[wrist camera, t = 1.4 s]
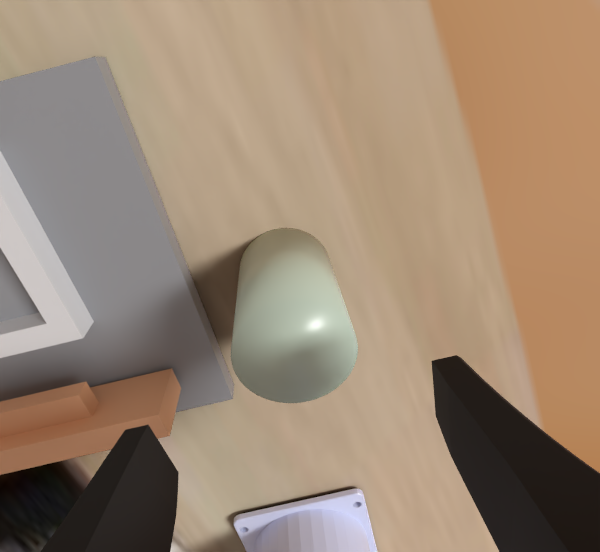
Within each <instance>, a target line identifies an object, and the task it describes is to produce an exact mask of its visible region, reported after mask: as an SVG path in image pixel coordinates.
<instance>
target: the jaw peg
mask: <svg viewBox="0 0 600 552" xmlns="http://www.w3.org/2000/svg"><path fill="white" fill-rule="evenodd" d="M357 353H358V345H357V339H356V335H355V332H354V329H353V326H352V323H351V321H350V318H349V315H348V312H347V309H346V306H345V303H344V300H343V297H342V294H341V291H340V288H339V285H338V282H337V279H336V277H335V274H334V271H333V268H332V265H331V262H330V259H329V256H328V254H327V251H326V250H325V248H324V246H323V245H322V244H321V243H320V242H319V241H318V240H317V239H316V238H315V237H313V236H312V235H310V234H308V233H306V232H304V231H301V230H298V229H293V228H280V229H274V230H271V231H268V232H266V233H263V234H262V235H260V236H258V237H257V238H256V239H254V240H253V241H252V242H251V243H250V244H249V246H248V247H247V248H246V250H245V252H244V254H243V256H242V259H241V262H240V269H239V279H238V289H237V298H236V308H235V317H234V327H233V337H232V346H231V361H232V365H233V369H234V371H235V373H236V375H237V377H238V378H239V380H240V381H241V382H242V383H243V384H244V386H245V387H247V388H248V389H249V390H250V391H252V392H253V393H255V394H256V395H258V396H261V397H263V398H265V399H268V400H271V401H276V402H282V403H300V402H306V401H310V400H314V399H317V398H320V397H322V396H324V395H326V394H328V393H330V392H331V391H333V390H334V389H336V388H337V387H338V386H339V385H341V384H342V383H343V382H344V381H345V380H346V378H347V377H348V376H349V374H350V373H351V371H352V369H353V367H354V365H355V362H356V359H357Z"/></svg>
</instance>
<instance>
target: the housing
mask: <svg viewBox="0 0 600 552" xmlns="http://www.w3.org/2000/svg"><path fill="white" fill-rule="evenodd" d="M171 368H172V370H173V372H174V374H175V376H176V378H177V380H178V382H179V384H180V387H181V391H180V395H179V399H178V403H177V408H176V412H179V411H183V410H187V409H191V408H196V407H200V406H204V405H209V404H213V403H217V402H222V401H226V400H230V399H233V391H234V383H233V381H232V378H231V376H230V373H229V371H228V368H227V366H226V363H225V360H224V358H223V355H222V353H221V350H220V348H219V345H218V343H217V340H216V338H215V335H214V333H213V330H212V327H211V325H210V322H209V320H208V317H207V315H206V312H205V310H204V307H203V305H202V302H201V299H200V297H199V294H198V292H197V289H196V287H195V284H194V282H193V279H192V277H191V274H190V271H189V269H188V266H187V264H186V261H185V259H184V256H183V254H182V251H181V249H180V246H179V243H178V241H177V238H176V236H175V233H174V231H173V228H172V226H171V223H170V221H169V218H168V216H167V213H166V210H165V208H164V205H163V203H162V200H161V198H160V195H159V193H158V190H157V188H156V185H155V182H154V180H153V177H152V175H151V172H150V170H149V167H148V165H147V162H146V160H145V157H144V154H143V152H142V149H141V147H140V144H139V142H138V139H137V137H136V134H135V132H134V129H133V127H132V124H131V121H130V119H129V116H128V114H127V111H126V109H125V106H124V104H123V101H122V99H121V96H120V93H119V91H118V88H117V86H116V83H115V81H114V78H113V76H112V73H111V71H110V68H109V65H108V63H107V60H106V58H105V57H92V58H88V59H84V60H81V61H77V62H73V63H69V64H65V65H61V66H57V67H54V68H50V69H46V70H42V71H38V72H34V73H31V74H27V75H23V76H19V77H15V78H11V79H7V80H4V81H0V402H1V401H5V400H10V399H14V398H18V397H22V396H27V395H31V394H35V393H39V392H44V391H48V390H52V389H56V388H60V387H65V386H69V385H73V384H77V383H82V382H87V384H88V385H89V387H95V386H99V385H103V384H107V383H112V382H116V381H120V380H124V379H129V378H133V377H137V376H141V375H146V374H150V373H154V372H158V371H163V370H167V369H171Z"/></svg>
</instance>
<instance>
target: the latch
mask: <svg viewBox="0 0 600 552" xmlns="http://www.w3.org/2000/svg"><path fill="white" fill-rule="evenodd" d="M180 391H181V387H180V384H179V382H178V380H177V378H176V376H175V374H174V372H173V370H172V368H171V369H167V370H163V371H158V372H154V373H150V374H146V375H141V376H137V377H133V378H129V379H124V380H120V381H116V382H112V383H107V384H103V385H99V386H95V387H89V385H88V384H87V382H82V383H77V384H73V385H69V386H65V387H60V388H56V389H52V390H48V391H44V392H39V393H35V394H31V395H27V396H22V397H18V398H14V399H10V400H5V401H1V402H0V475H1V474H6V473H10V472H15V471H19V470H23V469H28V468H32V467H36V466H41V465H45V464H49V463H54V462H58V461H62V460H67V459H71V458H75V457H80V456H84V455H88V454H93V453H97V452H101V451H106V450H110V449H112V448H113V447H114V445H115V444H116V442H117V441H118V439H119V438H120V437H121V435H122V434H123V432H124V431H125V430H126V429H131V428H135V427H139V426H144V425H149V426H150V428H151V429H152V431H153V433H154V434H155V436H156V437H157V439H158V438H162V437H166V436H170V432H171V428H172V424H173V420H174V416H175V412H176V408H177V403H178V399H179V395H180Z"/></svg>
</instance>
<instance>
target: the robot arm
mask: <svg viewBox="0 0 600 552" xmlns="http://www.w3.org/2000/svg"><path fill="white" fill-rule="evenodd" d="M432 371H433V384H434V397H435V410H436V418H437V420H438V423H439V426H440V428H441V431H442V434H443V436H444V439H445V442H446V444H447V447H448V449H449V452H450V454H451V457H452V459H453V461H454V463H455V465H456V467H457V469H458V471H459V473H460V475H461V477H462V479H463V481H464V483H465V485H466V487H467V489H468V491H469V493H470V494H471V496H472V498H473V500H474V502H475V504H476V506H477V508H478V510H479V512H480V514H481V516H482V518H483V520H484V522H485V524H486V526H487V528H488V530H489V532H490V534H491V536H492V538H493V540H494V542H495V544H496V546H497V547H498V549H499V552H600V473H598V472H597V471H596V470H594V469H593V468H592V467H590V466H589V465H587V464H586V463H585V462H583V461H582V460H580V459H579V458H578V457H576V456H575V455H574V454H572V453H571V452H570V451H568V450H567V449H566V448H564V447H563V446H562V445H560V444H559V443H558V442H556V441H555V440H554V439H552V438H551V437H550V436H549V435H548V434H546V433H545V432H544V431H542V430H541V429H540V428H539V427H537V426H536V425H535V424H534V423H533V422H531V421H530V420H529V419H528V418H527V417H525V416H524V415H523V414H522V413H521V412H519V411H518V410H517V409H516V408H515V407H513V406H512V405H511V404H510V403H509V402H508V401H507V400H505V399H504V398H503V397H502V396H501V395H500V394H499V393H498V392H496V391H495V390H494V389H493V388H492V387H491V386H490V385H489V384H488V383H486V382H485V381H484V380H483V379H482V378H481V377H480V376H479V375H478V374H477V373H476V372H475V371H474V370H473V369H472V368H471V367H470V366H469V365H468V364H467V363H466V362H465V361H464V360H463V359H462V358H460V357H458V356H457V355H456V356H452V357H447V358H443V359H438V360H434V361H432ZM177 494H178V471H177V470H176V468H175V466H174V465H173V463H172V462H171V460H170V458H169V457H168V455H167V454H166V452H165V450H164V449H163V447H162V446H161V444H160V442H159V441H158V439H157V437H156V436H155V434H154V433H153V431H152V429H151V428H150V426H149V425H144V426H139V427H135V428H131V429H126V430H125V431H124V432H123V434H122V435H121V437H120V438H119V439H118V441H117V442H116V444H115V445H114V447H113V448H112V450H111V451H110V453H109V454H108V456H107V457H106V459H105V460H104V462H103V463H102V465H101V466H100V468H99V469H98V471H97V472H96V474H95V475H94V477H93V478H92V480H91V481H90V483H89V484H88V486H87V487H86V489H85V490H84V492H83V493H82V494H81V496H80V497H79V499H78V500H77V502H76V503H75V505H74V506H73V508H72V509H71V511H70V512H69V513H68V515H67V516H66V518H65V519H64V521H63V522H62V523H61V525H60V526H59V527H58V529H57V530H56V531H55V533H54V534H53V535H52V537H51V538H50V540H49V541H48V542H47V544H46V545H45V546H44V548H43V549H42V550H41V552H170V548H171V543H172V537H173V531H174V525H175V519H176V509H177ZM234 527H235V529H236V531H237V533H238V535H239V537H240V539H241V541H242V543H243V545H244V547H245V550H246V552H377V548H376V544H375V540H374V536H373V532H372V528H371V524H370V520H369V515H368V511H367V507H366V503H365V499H364V495H363V492H362V490H360V489H350V490H346V491H341V492H337V493H332V494H328V495H323V496H319V497H314V498H310V499H305V500H301V501H296V502H292V503H288V504H283V505H279V506H274V507H270V508H265V509H261V510H256V511H252V512H247V513H243V514H239V515H237V516H236V517H235V518H234Z"/></svg>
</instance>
